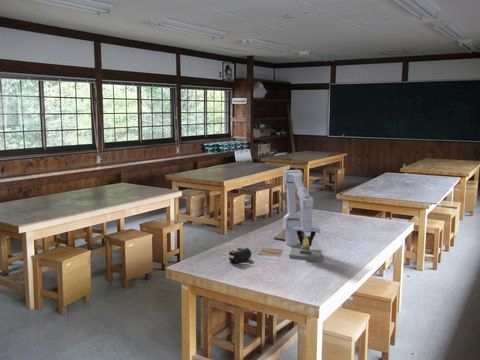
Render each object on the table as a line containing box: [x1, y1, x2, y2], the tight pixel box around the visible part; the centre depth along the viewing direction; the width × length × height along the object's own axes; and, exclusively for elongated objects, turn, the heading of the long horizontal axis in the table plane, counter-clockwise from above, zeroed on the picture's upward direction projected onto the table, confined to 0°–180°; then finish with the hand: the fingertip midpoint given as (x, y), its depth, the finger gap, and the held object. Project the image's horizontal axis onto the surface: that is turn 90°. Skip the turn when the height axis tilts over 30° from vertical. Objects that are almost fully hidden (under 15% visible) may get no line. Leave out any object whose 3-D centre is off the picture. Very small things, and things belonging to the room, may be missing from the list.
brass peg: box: [301, 234, 311, 250], centre depth 249 cm, size 4×4×7 cm
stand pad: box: [257, 247, 284, 257], centre depth 256 cm, size 12×12×1 cm
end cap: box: [228, 247, 252, 265], centre depth 241 cm, size 10×7×7 cm
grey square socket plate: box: [288, 247, 322, 263], centre depth 251 cm, size 12×16×2 cm
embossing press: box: [273, 191, 305, 242], centre depth 287 cm, size 11×24×30 cm, turn 144°
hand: (305, 245), depth 250 cm, fingers closed on brass peg, 4 cm apart
